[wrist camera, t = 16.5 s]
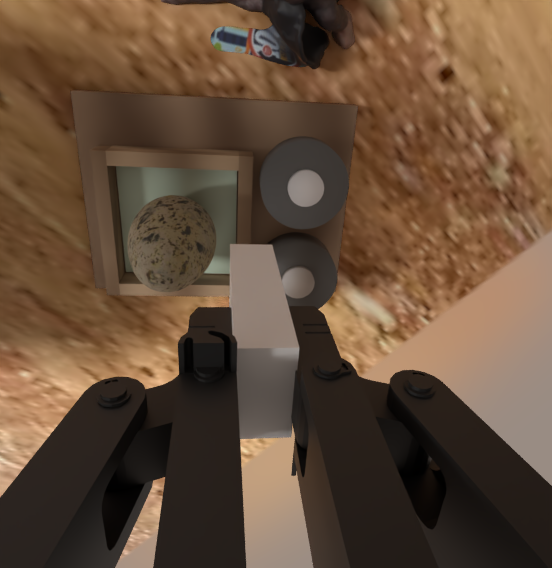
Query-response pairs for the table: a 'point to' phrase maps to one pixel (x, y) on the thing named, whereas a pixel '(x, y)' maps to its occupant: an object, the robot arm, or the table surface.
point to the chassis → (203, 181)
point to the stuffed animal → (285, 30)
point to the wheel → (303, 182)
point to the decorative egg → (171, 243)
